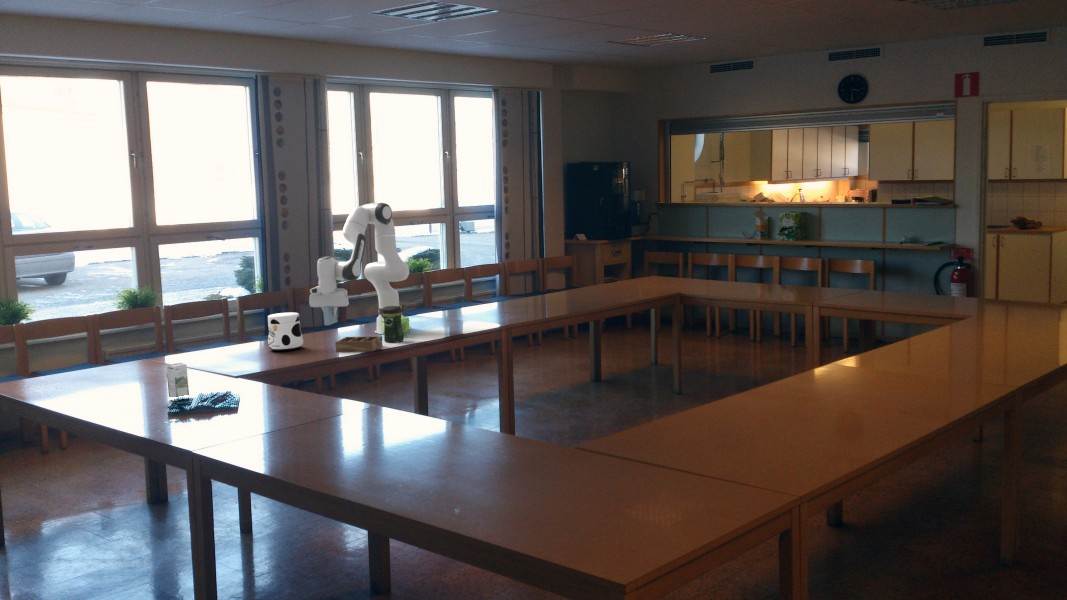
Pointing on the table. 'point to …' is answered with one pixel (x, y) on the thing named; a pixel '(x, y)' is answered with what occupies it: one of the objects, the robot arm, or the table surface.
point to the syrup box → (177, 380)
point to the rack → (358, 344)
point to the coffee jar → (392, 324)
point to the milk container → (284, 332)
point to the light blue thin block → (329, 316)
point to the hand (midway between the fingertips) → (330, 315)
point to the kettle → (404, 325)
